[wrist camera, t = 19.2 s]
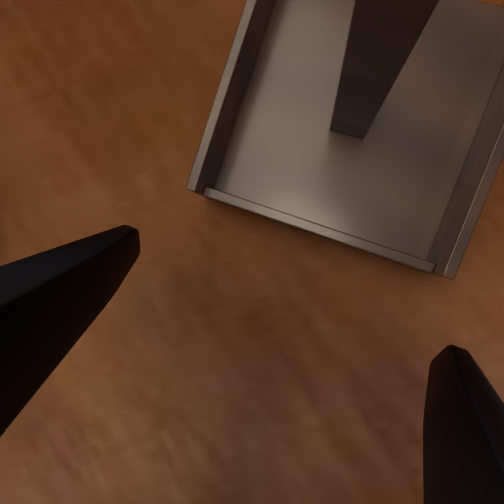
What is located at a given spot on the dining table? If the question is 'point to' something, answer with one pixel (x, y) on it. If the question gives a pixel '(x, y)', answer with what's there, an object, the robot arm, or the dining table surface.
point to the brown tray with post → (361, 123)
